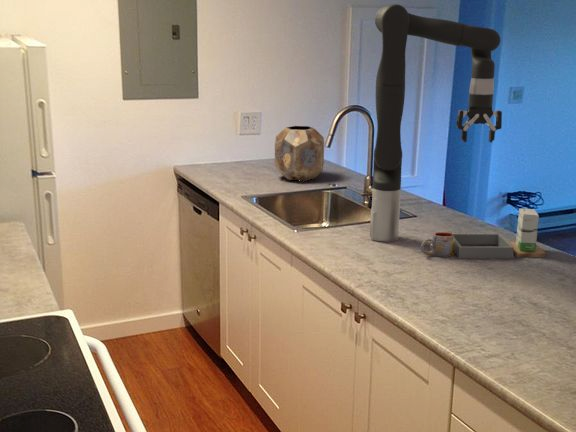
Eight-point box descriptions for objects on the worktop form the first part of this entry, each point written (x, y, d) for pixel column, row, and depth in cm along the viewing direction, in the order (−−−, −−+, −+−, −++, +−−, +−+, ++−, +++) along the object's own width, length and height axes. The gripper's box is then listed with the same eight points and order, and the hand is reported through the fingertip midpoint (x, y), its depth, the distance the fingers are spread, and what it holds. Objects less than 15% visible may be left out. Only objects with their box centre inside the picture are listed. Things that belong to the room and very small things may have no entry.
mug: (444, 249, 224) (446, 229, 222) (458, 255, 217) (459, 235, 216) (413, 254, 219) (414, 234, 217) (426, 260, 213) (427, 239, 211)
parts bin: (458, 258, 215) (459, 247, 214) (448, 243, 229) (449, 233, 228) (512, 258, 215) (513, 247, 214) (498, 243, 229) (499, 233, 228)
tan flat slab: (516, 256, 216) (517, 253, 216) (505, 245, 228) (505, 241, 228) (545, 257, 216) (546, 253, 216) (532, 245, 228) (533, 241, 227)
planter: (271, 183, 315) (271, 131, 309) (280, 172, 338) (280, 123, 332) (319, 185, 312) (320, 132, 305) (326, 174, 335) (326, 124, 329)
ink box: (535, 252, 217) (539, 215, 214) (519, 251, 218) (523, 214, 215) (531, 243, 225) (534, 208, 222) (515, 242, 226) (518, 207, 223)
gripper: (462, 93, 222) (458, 143, 227) (506, 93, 222) (502, 144, 227) (456, 91, 230) (453, 140, 234) (500, 91, 230) (495, 140, 234)
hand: (477, 142), depth 230 cm, fingers open, 8 cm apart
